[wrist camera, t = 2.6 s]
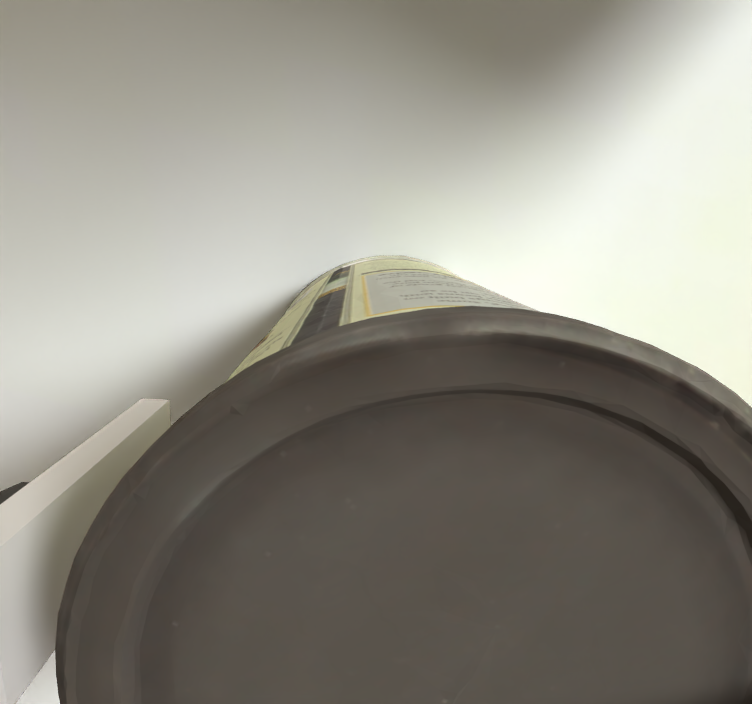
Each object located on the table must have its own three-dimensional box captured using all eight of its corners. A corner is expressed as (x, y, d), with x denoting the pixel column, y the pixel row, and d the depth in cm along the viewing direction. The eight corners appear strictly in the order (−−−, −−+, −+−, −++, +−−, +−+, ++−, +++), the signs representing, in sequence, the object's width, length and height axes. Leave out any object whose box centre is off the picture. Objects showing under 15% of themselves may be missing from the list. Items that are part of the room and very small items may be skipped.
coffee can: (480, 496, 21) (697, 972, 8) (257, 467, 20) (52, 940, 7) (535, 275, 19) (1011, 393, 5) (283, 232, 18) (40, 236, 4)
